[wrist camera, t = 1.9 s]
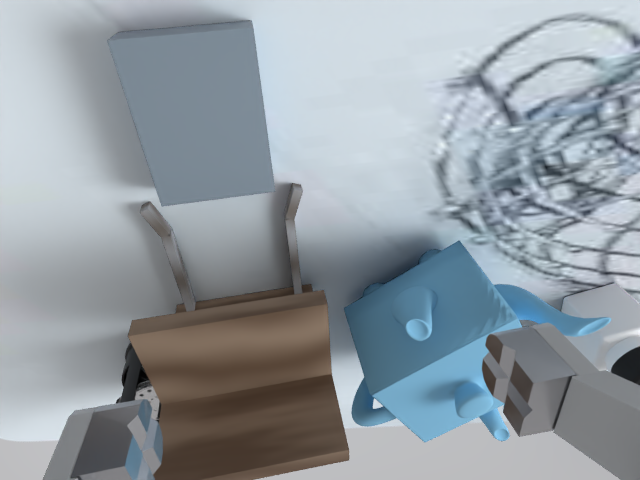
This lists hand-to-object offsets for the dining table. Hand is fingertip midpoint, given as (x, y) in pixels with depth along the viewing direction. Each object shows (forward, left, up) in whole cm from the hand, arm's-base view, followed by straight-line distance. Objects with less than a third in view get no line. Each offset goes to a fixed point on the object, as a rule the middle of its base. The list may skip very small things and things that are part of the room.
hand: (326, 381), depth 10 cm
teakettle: (+25, +15, -27) cm, 40 cm away
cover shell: (+2, -5, -27) cm, 27 cm away
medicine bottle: (+33, +38, -27) cm, 57 cm away
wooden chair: (+16, -5, -27) cm, 31 cm away
